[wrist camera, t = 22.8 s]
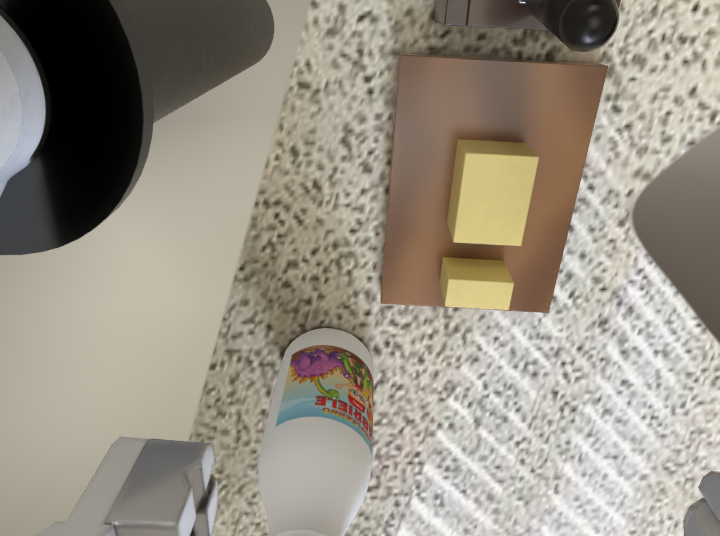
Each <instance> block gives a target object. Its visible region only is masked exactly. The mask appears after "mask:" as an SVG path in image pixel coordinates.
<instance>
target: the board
mask: <svg viewBox="0 0 720 536" xmlns="http://www.w3.org/2000/svg"><path fill="white" fill-rule="evenodd" d="M607 69H608V66H605V65H602V64H598V63H580V62H562V61H544V60H526V59H508V58H490V57H471V56H453V55H435V54H417V53H399V58H398V72H397V85H396V98H395V111H394V124H393V137H392V150H391V163H390V177H389V190H388V203H387V216H386V229H385V242H384V255H383V268H382V282H381V304H396V305H414V306H432V307H446V306H444V301H443V297H442V292H441V288H440V283H439V282H440V274H441V266H442V259H443V257H449V258H467V259H484V260H502V261H504V263H505V265H506V267H507V269H508V271H509V273H510V275H511V277H512V280H513V282H514V286H513V291H512V296H511V301H510V306H509V310H505V311H523V312H541V313H549V309H550V305H551V301H552V297H553V293H554V289H555V284H556V280H557V276H558V272H559V268H560V264H561V259H562V255H563V251H564V247H565V243H566V239H567V235H568V230H569V226H570V222H571V218H572V214H573V210H574V206H575V201H576V197H577V193H578V189H579V185H580V181H581V177H582V172H583V168H584V164H585V160H586V156H587V152H588V148H589V143H590V139H591V135H592V131H593V127H594V123H595V119H596V114H597V110H598V106H599V102H600V98H601V94H602V90H603V85H604V81H605V77H606V73H607ZM458 139H465V140H484V141H502V142H520V143H525V144H527V145H528V146H529V147H530V148H531V149H532V150H533V151H534V152H535V153H536V154H537V155H538V156H539V160H538V165H537V170H536V175H535V180H534V185H533V189H532V194H531V199H530V204H529V209H528V214H527V219H526V224H525V229H524V234H523V239H522V244H521V246H512V245H494V244H475V243H457V242H453V240H452V236H451V233H450V230H449V227H448V224H447V218H448V210H449V203H450V195H451V187H452V180H453V172H454V164H455V157H456V149H457V141H458ZM451 308H464V307H451ZM469 309H481V308H469ZM487 310H499V309H487Z"/></svg>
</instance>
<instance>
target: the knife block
mask: <svg viewBox="0 0 720 536" xmlns="http://www.w3.org/2000/svg"><path fill="white" fill-rule="evenodd" d="M615 2H616V4H617V6H618V9H619V5H620V0H615ZM433 19H434V20H435V21H437V22H440V23H442V24H444V25H455V26H473V27H492V28H510V29H528V30H546V31H549V30H548V29H547V28H546V27H545V26H544V25H543V24H542V23H540V22H539V21H538V20H537V19H536V18H535V17H534V16H533V15H532V14H531V13H530V12H529V10H528V8H527V6H526V3H519V2H517V0H435V8H434V18H433Z"/></svg>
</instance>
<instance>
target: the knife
mask: <svg viewBox="0 0 720 536" xmlns="http://www.w3.org/2000/svg"><path fill="white" fill-rule="evenodd" d="M517 2H519V3H526V6H527V8H528V10H529V12H530V13H531V14H532V15H533V16H534V17H535V18H536V19H537V20H538V21H539V22H540V23H542V24H543V25H544V26H545V27H546V28H547V29H548V30H549V31H551V32H552V33H553V34H554V35H555V36H556V37H557V38H558V39H560V40H561V41H562V42H563V43H564V44H565V45H566V46H568V47H569V48H571V49H573V50H576V51H580V52H587V51H592V50H595V49H597V48H600V47H601V46H603V45H604V44H605V43H607V42H608V41H609V40H610V38H611V37H612V36H613V34H614V33H615V31H616V29H617V26H618V22H619V10H618V6H617V4H616V2H615V0H517Z"/></svg>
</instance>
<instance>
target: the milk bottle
mask: <svg viewBox="0 0 720 536" xmlns="http://www.w3.org/2000/svg"><path fill="white" fill-rule="evenodd" d="M372 446H373V362H372V358H371V355H370V353H369V351H368V350H367V348H366V347H365V346H364V345H363V343H361V342H360V341H359V340H358V339H357V338H356V337H354V336H353V335H351V334H349V333H347V332H344V331H342V330H337V329H330V328H322V329H315V330H312V331H308V332H306V333H304V334H302V335H300V336H299V337H298V338H296V339H295V340H294V341H293V342H292V343H291V344H290V345H289V346H288V348H287V350H286V352H285V354H284V357H283V360H282V363H281V367H280V371H279V375H278V379H277V383H276V387H275V390H274V394H273V398H272V402H271V406H270V410H269V415H268V419H267V423H266V427H265V431H264V435H263V440H262V445H261V450H260V456H259V464H258V483H259V490H260V495H261V498H262V502H263V505H264V508H265V512H266V515H267V519H268V526H269V536H344V535H345V533H346V530H347V528H348V526H349V525H350V523H351V521H352V519H353V518H354V516H355V515H356V513H357V511H358V510H359V508H360V506H361V504H362V502H363V499H364V497H365V495H366V491H367V488H368V485H369V480H370V474H371V465H372Z"/></svg>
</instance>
